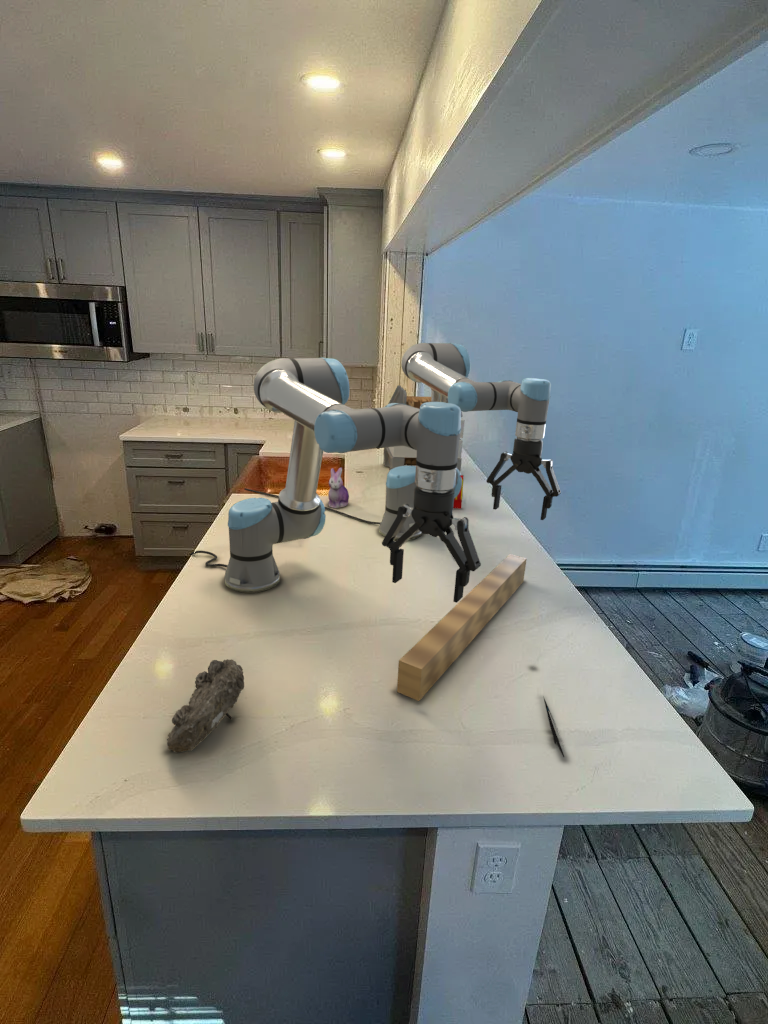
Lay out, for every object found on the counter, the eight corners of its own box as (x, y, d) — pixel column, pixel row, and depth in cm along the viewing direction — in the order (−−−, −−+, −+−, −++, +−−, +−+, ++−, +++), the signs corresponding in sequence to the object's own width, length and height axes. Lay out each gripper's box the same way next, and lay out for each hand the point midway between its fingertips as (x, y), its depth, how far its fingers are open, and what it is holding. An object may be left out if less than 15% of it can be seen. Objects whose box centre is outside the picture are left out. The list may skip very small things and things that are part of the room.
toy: (456, 466, 252) (467, 476, 223) (454, 496, 255) (465, 509, 225) (428, 465, 252) (437, 475, 222) (427, 495, 254) (435, 508, 225)
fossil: (192, 660, 117) (244, 628, 112) (224, 691, 120) (276, 661, 115) (142, 746, 98) (202, 712, 93) (182, 779, 101) (242, 748, 96)
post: (506, 577, 171) (509, 553, 168) (523, 581, 168) (526, 558, 166) (396, 691, 118) (398, 660, 115) (419, 701, 115) (421, 669, 112)
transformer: (382, 463, 289) (386, 382, 275) (445, 464, 293) (451, 384, 279) (390, 482, 257) (394, 392, 243) (460, 483, 261) (468, 394, 247)
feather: (533, 672, 128) (539, 666, 127) (564, 762, 101) (571, 754, 101) (527, 668, 128) (533, 662, 127) (556, 757, 101) (563, 750, 100)
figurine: (332, 510, 220) (332, 472, 215) (322, 501, 228) (322, 465, 223) (354, 507, 224) (355, 470, 219) (343, 499, 232) (344, 463, 227)
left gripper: (367, 479, 108) (363, 579, 115) (490, 506, 96) (478, 616, 103) (387, 471, 114) (383, 566, 121) (505, 495, 102) (493, 600, 110)
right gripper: (479, 433, 154) (472, 507, 161) (573, 448, 142) (560, 527, 149) (490, 429, 160) (482, 500, 167) (580, 443, 148) (567, 519, 155)
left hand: (426, 589), depth 112 cm, fingers open, 13 cm apart
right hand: (519, 513), depth 158 cm, fingers open, 13 cm apart
